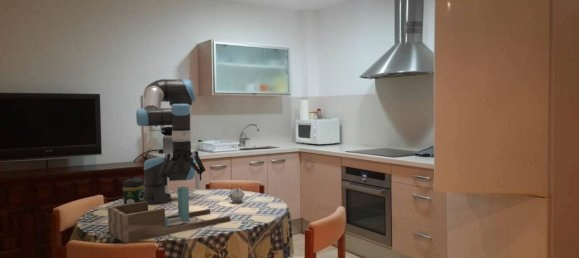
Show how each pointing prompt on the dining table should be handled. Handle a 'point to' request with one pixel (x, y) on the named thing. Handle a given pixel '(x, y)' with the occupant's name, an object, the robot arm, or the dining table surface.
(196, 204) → the dining table surface
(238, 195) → the game die
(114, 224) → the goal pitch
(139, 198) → the coffee jar
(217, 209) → the dining table surface
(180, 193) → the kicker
